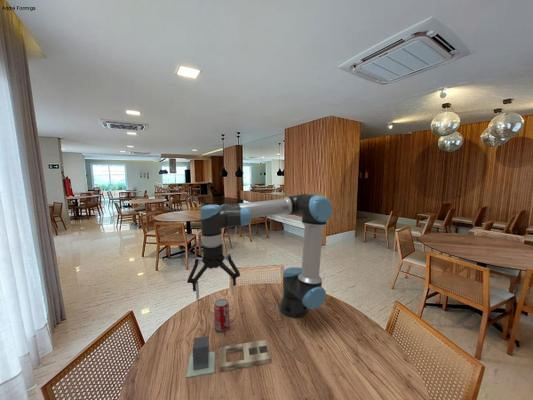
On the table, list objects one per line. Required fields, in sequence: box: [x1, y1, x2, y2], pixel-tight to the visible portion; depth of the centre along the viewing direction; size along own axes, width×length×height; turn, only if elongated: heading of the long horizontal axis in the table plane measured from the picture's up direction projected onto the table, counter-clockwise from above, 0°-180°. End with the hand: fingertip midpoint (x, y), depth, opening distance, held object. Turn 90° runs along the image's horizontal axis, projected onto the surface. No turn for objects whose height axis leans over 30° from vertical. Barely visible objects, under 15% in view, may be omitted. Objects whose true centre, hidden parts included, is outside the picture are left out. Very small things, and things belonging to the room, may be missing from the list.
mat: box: [185, 351, 216, 379], centre depth 85 cm, size 10×10×1 cm
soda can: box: [213, 298, 231, 332], centre depth 106 cm, size 7×7×13 cm
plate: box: [219, 339, 272, 373], centre depth 88 cm, size 20×10×2 cm, turn 102°
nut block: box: [192, 335, 210, 371], centre depth 85 cm, size 6×6×9 cm
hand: (215, 295), depth 87 cm, fingers open, 13 cm apart
